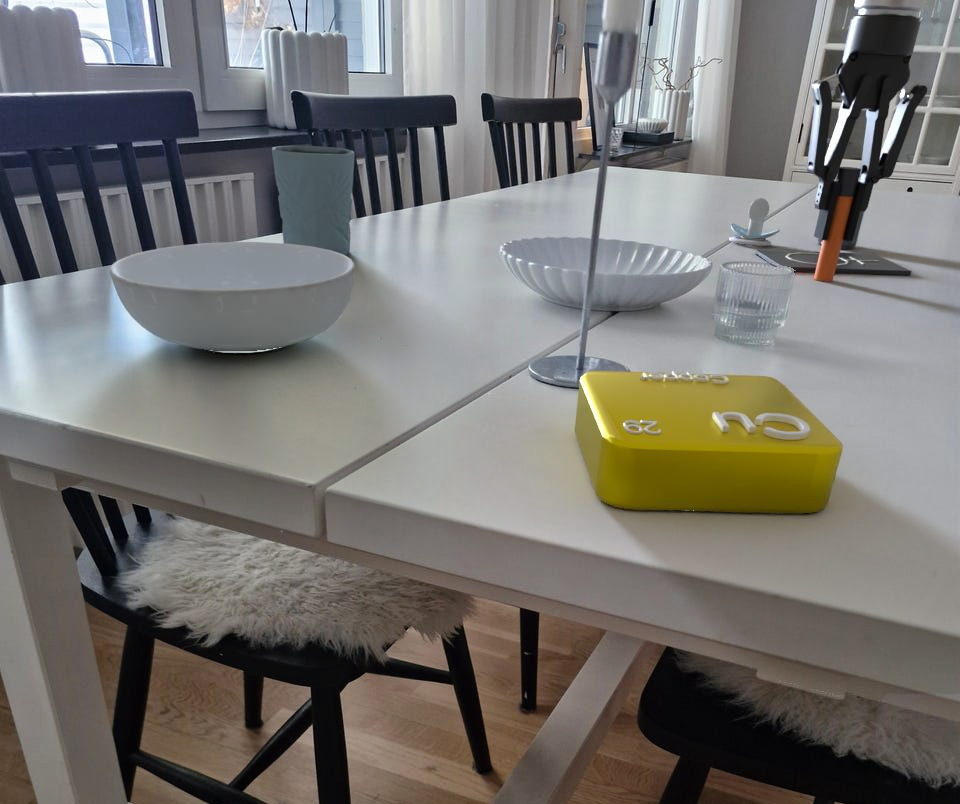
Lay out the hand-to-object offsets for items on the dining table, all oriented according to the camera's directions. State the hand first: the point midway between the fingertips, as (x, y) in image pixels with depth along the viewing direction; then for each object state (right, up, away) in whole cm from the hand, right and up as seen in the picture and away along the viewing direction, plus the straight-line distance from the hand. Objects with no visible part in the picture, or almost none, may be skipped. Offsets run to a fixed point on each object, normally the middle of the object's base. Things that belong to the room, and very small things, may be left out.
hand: (833, 238), depth 114 cm
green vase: (-66, 0, +4) cm, 67 cm away
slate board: (+4, +2, +12) cm, 13 cm away
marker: (0, -4, +3) cm, 5 cm away
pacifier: (-4, +9, +23) cm, 25 cm away
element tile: (-31, -40, -52) cm, 72 cm away
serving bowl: (-67, -24, -31) cm, 78 cm away
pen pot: (+10, +10, +25) cm, 29 cm away
